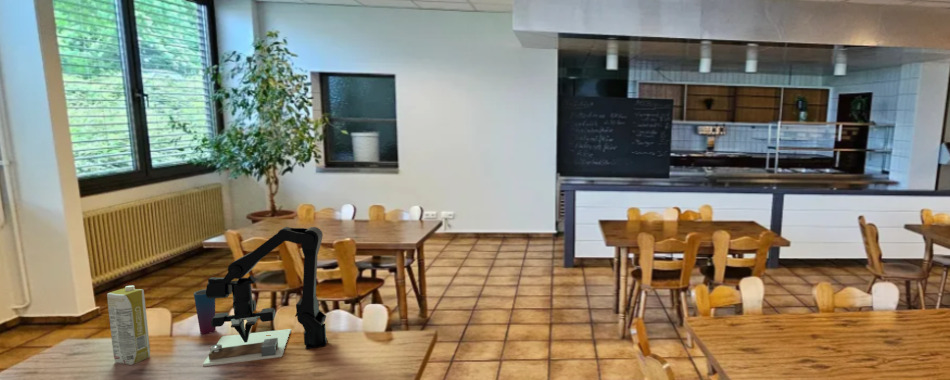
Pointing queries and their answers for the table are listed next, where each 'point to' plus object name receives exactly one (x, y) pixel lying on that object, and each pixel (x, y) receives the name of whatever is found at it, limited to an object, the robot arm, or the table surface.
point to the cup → (204, 311)
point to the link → (237, 350)
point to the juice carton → (128, 325)
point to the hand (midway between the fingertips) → (246, 341)
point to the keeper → (269, 347)
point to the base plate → (253, 338)
